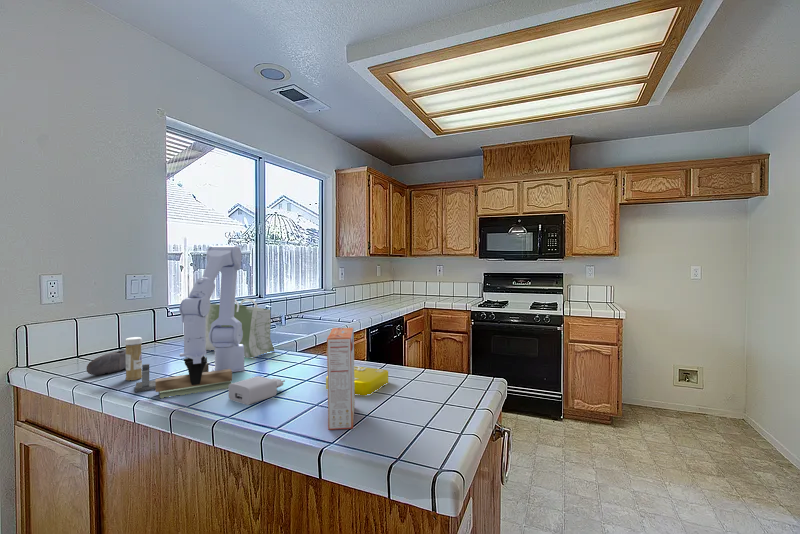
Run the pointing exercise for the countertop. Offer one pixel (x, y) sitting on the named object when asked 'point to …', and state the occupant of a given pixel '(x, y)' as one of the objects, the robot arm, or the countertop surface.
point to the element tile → (367, 379)
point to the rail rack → (152, 384)
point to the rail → (185, 382)
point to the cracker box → (340, 378)
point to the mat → (195, 389)
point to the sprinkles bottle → (133, 358)
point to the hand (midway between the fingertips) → (195, 382)
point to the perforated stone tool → (108, 363)
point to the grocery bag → (246, 327)
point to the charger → (254, 389)
